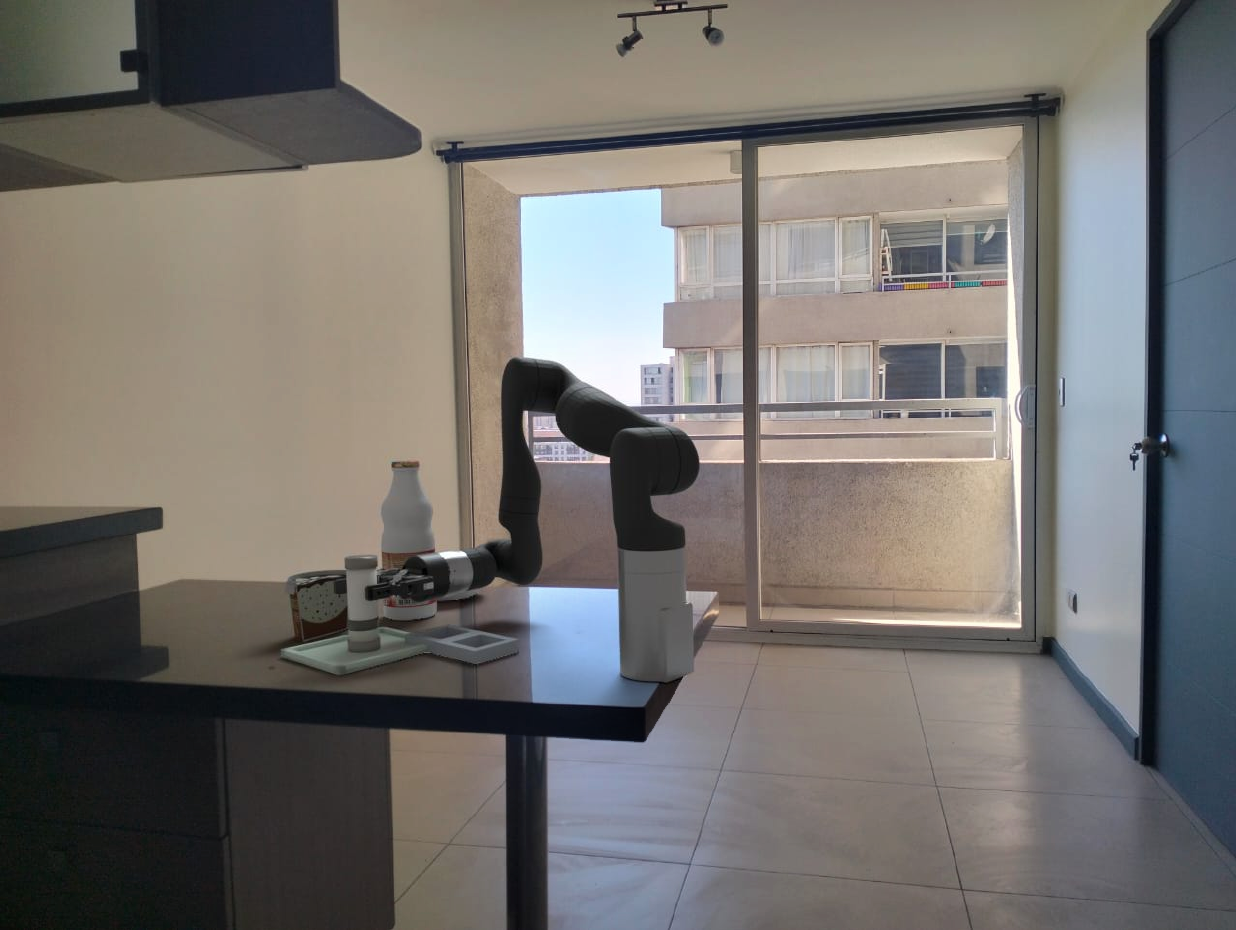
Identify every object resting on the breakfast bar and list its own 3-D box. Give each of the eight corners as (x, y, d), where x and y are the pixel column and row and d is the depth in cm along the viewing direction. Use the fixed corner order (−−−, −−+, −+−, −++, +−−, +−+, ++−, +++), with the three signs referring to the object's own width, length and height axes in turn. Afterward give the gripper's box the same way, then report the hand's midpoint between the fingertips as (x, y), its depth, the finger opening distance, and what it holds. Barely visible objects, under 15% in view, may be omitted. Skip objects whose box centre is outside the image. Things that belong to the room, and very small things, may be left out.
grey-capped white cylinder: (387, 647, 134) (383, 556, 133) (359, 654, 130) (355, 560, 129) (369, 643, 137) (365, 553, 136) (341, 649, 133) (338, 557, 132)
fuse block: (519, 652, 131) (518, 639, 131) (475, 665, 125) (474, 651, 125) (448, 636, 142) (448, 624, 142) (405, 647, 136) (404, 634, 136)
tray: (444, 648, 135) (444, 640, 135) (339, 675, 121) (339, 667, 121) (384, 633, 145) (383, 626, 145) (281, 657, 132) (281, 649, 132)
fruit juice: (372, 617, 158) (367, 462, 157) (414, 608, 165) (409, 459, 164) (406, 623, 152) (401, 462, 151) (448, 613, 160) (443, 460, 158)
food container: (330, 624, 153) (327, 567, 153) (354, 627, 150) (352, 569, 150) (270, 640, 143) (267, 579, 142) (295, 644, 140) (292, 581, 139)
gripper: (411, 548, 148) (323, 561, 136) (465, 555, 139) (376, 570, 127) (412, 592, 148) (325, 609, 136) (466, 602, 139) (378, 621, 127)
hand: (350, 590), depth 131 cm, fingers open, 8 cm apart
